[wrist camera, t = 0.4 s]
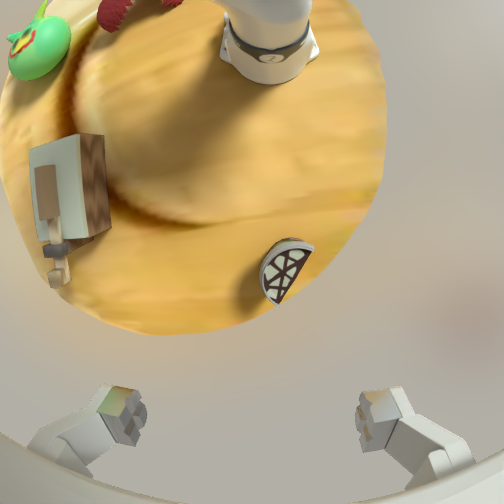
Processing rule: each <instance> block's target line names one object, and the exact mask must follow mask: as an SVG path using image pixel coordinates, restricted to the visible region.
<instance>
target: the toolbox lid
mask: <svg viewBox="0 0 504 504" xmlns="http://www.w3.org/2000/svg"><path fill="white" fill-rule="evenodd" d="M29 166H30V181H31V193H32V202H33V210H34V217H35V224H36V230H37V236H38V241H49V240H50V237H49V231H48V225H47V220H49V219H52V218H55V217H58V216H60V222H61V229H62V235H63V239H76V238H86V237H88V236H89V233H88V227H87V220H86V212H85V204H84V195H83V185H82V172H81V155H80V134H75V135H71V136H68V137H65V138H62V139H59V140H56V141H53V142H50V143H47V144H44V145H41V146H38V147H36V148H33V149H30V150H29Z"/></svg>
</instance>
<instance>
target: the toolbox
mask: <svg viewBox="0 0 504 504" xmlns="http://www.w3.org/2000/svg"><path fill="white" fill-rule="evenodd" d="M78 134H80V155H81V172H82V185H83V195H84V204H85V212H86V220H87V227H88V233H89V236H88V237H86V238H76V239H63V240H64V243H61V244H59V245H51V243H50V244H48V245H45V246H43V252H44V257H45V258H51V257H63V256H65V255H67V254H69V253H71V251H73V250H75V249H77V248H79V247H81V246H83V245H85V244H87V243H89V242H91V241H93V240H94V238H93V236H94V235H96V234H98V233H101V232H103V231H105V230H107V229H109V228H112V226H111V219H110V211H109V202H108V192H107V181H106V168H105V149H104V135H95V134H86V133H78ZM74 135H75V134H74ZM61 139H62V138H61ZM58 140H59V139H58ZM55 141H56V140H55ZM52 142H53V141H52ZM49 143H50V142H49ZM35 148H36V147H35ZM49 241H50V240H49Z"/></svg>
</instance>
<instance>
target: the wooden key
mask: <svg viewBox="0 0 504 504" xmlns="http://www.w3.org/2000/svg"><path fill="white" fill-rule="evenodd" d="M47 225H48V231H49V237H50V242H51V245H59V244H61V243H64V240H63V235H62V229H61V222H60V216H58V217H55V218H52V219H49V220H47ZM53 258H54V262H55V267H56V268H55V269H54V270H52V271H50V272H48V273H47V276H48V280H49V283H50V287H51V288H60V287H62V286H63V285H65V284H66V283H68V282H69V281H71V280H72V279H71V275H70V270H69V266H68V261H67V256H66V255H65V256H63V257H53Z"/></svg>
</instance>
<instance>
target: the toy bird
mask: <svg viewBox="0 0 504 504" xmlns="http://www.w3.org/2000/svg"><path fill="white" fill-rule="evenodd" d="M46 6H47V0H46V1H44V2H43V4H42V5H41V6H40V8H39V9H38V11H37V13H36V14H35V16H34V18H33V20H32V22H31V23H30V25H29V26H27V27H26V28H25V29H24V30H23V31H22V32H17V33H13V34H10V35H9V36H8V37H7V40H8V41H10V42H11V43H13V45H12V47H11V50H10V53H9V57H8V64H9V69H10V71H11V73H12V74H13V76H14V77H16V78H17V79H20V80H33V79H36V78H39V77H41V76H43V75H45V74H47V73H48V72H49V71H51V70H52V69H53V68H54V67H55V66H56V65H57V64H58V63H59V62H60V61H61V60H62V58H63V57H64V55H65V54H66V52H67V50H68V48H69V45H70V41H71V30H70V27H69V25H68V23H67V22H66V21H65V20H64V19H63V18H61V17H57V16H47V17H44V14H45V10H46Z"/></svg>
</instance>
